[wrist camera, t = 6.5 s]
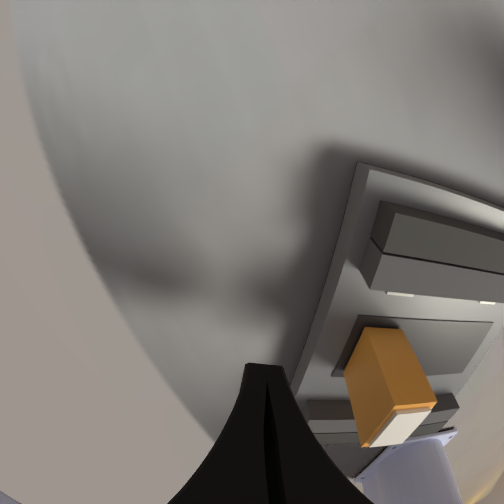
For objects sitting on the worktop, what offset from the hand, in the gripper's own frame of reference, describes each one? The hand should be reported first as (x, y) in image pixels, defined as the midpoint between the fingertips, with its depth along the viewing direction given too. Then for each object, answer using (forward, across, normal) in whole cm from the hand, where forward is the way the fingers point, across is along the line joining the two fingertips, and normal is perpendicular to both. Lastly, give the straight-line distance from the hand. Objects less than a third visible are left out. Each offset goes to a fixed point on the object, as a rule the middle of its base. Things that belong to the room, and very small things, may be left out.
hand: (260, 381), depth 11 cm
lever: (+2, -5, 0) cm, 6 cm away
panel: (+4, -9, 0) cm, 9 cm away
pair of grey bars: (+2, -9, 0) cm, 9 cm away
